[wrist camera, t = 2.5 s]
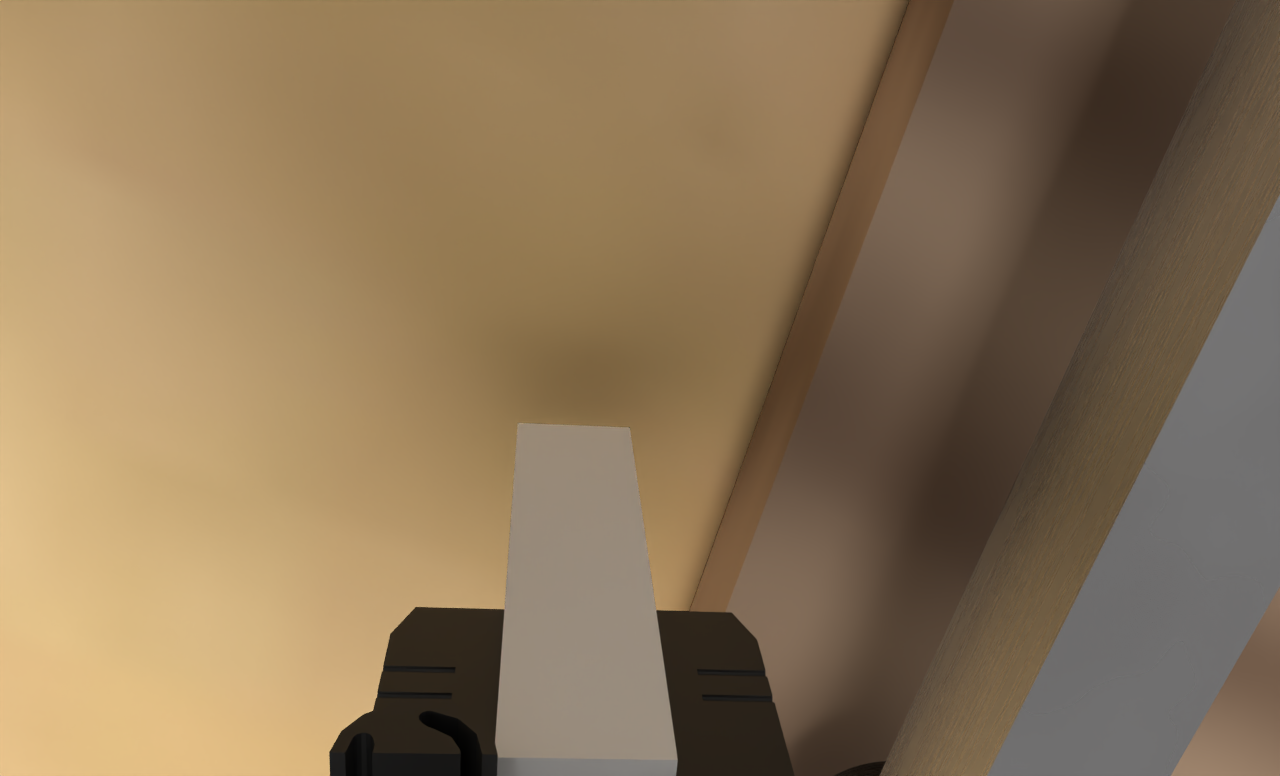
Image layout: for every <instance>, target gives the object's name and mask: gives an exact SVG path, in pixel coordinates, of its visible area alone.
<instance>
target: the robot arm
mask: <svg viewBox="0 0 1280 776" xmlns="http://www.w3.org/2000/svg"><path fill="white" fill-rule="evenodd" d="M772 698H773V695H772V692H771V688H770V684H769V681H768V677H766V670H765V666H764V663H763V659H762V655H761V652H760V648H759V645H758V641H757V639H756V638H755V637H754V636H753V635H752V634H751V633H750V631H749V630H748V629H747V628H746V627H745V626H744V625H743V624H742V623H741V622H740V621H739V620H738V619H737V618H736V617H735V615H734V614H733V613H732V612H698V611H660V610H656V606H655V599H654V592H653V585H652V578H651V571H650V564H649V557H648V550H647V543H646V536H645V529H644V522H643V516H642V509H641V502H640V495H639V488H638V481H637V474H636V467H635V460H634V453H633V446H632V439H631V432H630V427H606V426H582V425H558V424H534V423H518V427H517V441H516V455H515V469H514V483H513V497H512V511H511V525H510V539H509V553H508V567H507V581H506V595H505V609H466V608H428V607H415V609H414V610H413V611H412V612H411V613H410V614H409V615H408V616H407V617H406V618H405V619H404V620H403V621H402V622H401V623H400V624H399V626H398V627H397V628H396V629H395V630H394V631H393V632H392V633H391V634H390V639H389V643H388V648H387V652H386V657H385V661H384V665H383V672H382V674H381V679H380V683H379V688H378V695H377V698H376V701H375V705H374V710H373V711H372V712H369V713H366V714H364V715H362V716H361V717H360V718H358V719H357V720H356V721H354V722H353V723H352V724H350V725H349V726H348V727H346V728H345V729H344V730H343V731H341V733H340V735H339V736H338V738H337V740H336V742H335V743H334V745H333V747H332V749H331V751H330V752H329V753H330V776H795V775H794V771H793V768H792V764H791V760H790V757H789V753H788V750H787V746H786V742H785V739H784V735H783V731H782V728H781V724H780V721H779V717H778V713H777V710H776V706H775V702H773V699H772Z"/></svg>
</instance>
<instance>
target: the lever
mask: <svg viewBox="0 0 1280 776" xmlns="http://www.w3.org/2000/svg"><path fill="white" fill-rule="evenodd" d="M1279 587H1280V0H1236V2H1235V4H1234V6H1233V8H1232V10H1231V12H1230V15H1229V17H1228V19H1227V21H1226V23H1225V25H1224V28H1223V30H1222V32H1221V34H1220V36H1219V38H1218V41H1217V43H1216V45H1215V47H1214V49H1213V52H1212V54H1211V56H1210V58H1209V60H1208V62H1207V65H1206V67H1205V69H1204V71H1203V73H1202V75H1201V78H1200V80H1199V82H1198V84H1197V86H1196V88H1195V91H1194V93H1193V95H1192V97H1191V99H1190V101H1189V104H1188V106H1187V108H1186V110H1185V112H1184V115H1183V117H1182V119H1181V121H1180V123H1179V125H1178V128H1177V130H1176V132H1175V134H1174V136H1173V138H1172V141H1171V143H1170V145H1169V147H1168V149H1167V151H1166V154H1165V156H1164V158H1163V160H1162V162H1161V165H1160V167H1159V169H1158V171H1157V173H1156V175H1155V178H1154V180H1153V182H1152V184H1151V186H1150V188H1149V191H1148V193H1147V195H1146V197H1145V199H1144V201H1143V204H1142V206H1141V208H1140V210H1139V212H1138V214H1137V217H1136V219H1135V221H1134V223H1133V225H1132V228H1131V230H1130V232H1129V234H1128V236H1127V238H1126V241H1125V243H1124V245H1123V247H1122V249H1121V251H1120V254H1119V256H1118V258H1117V260H1116V262H1115V264H1114V267H1113V269H1112V271H1111V273H1110V275H1109V278H1108V280H1107V282H1106V284H1105V286H1104V288H1103V291H1102V293H1101V295H1100V297H1099V299H1098V301H1097V304H1096V306H1095V308H1094V310H1093V312H1092V314H1091V317H1090V319H1089V321H1088V323H1087V325H1086V327H1085V330H1084V332H1083V334H1082V336H1081V338H1080V341H1079V343H1078V345H1077V347H1076V349H1075V351H1074V354H1073V356H1072V358H1071V360H1070V362H1069V364H1068V367H1067V369H1066V371H1065V373H1064V375H1063V377H1062V380H1061V382H1060V384H1059V386H1058V388H1057V391H1056V393H1055V395H1054V397H1053V399H1052V401H1051V404H1050V406H1049V408H1048V410H1047V412H1046V414H1045V417H1044V419H1043V421H1042V423H1041V425H1040V427H1039V430H1038V432H1037V434H1036V436H1035V438H1034V440H1033V443H1032V445H1031V447H1030V449H1029V451H1028V454H1027V456H1026V458H1025V460H1024V462H1023V464H1022V467H1021V469H1020V471H1019V473H1018V475H1017V477H1016V480H1015V482H1014V484H1013V486H1012V488H1011V490H1010V493H1009V495H1008V497H1007V499H1006V501H1005V504H1004V506H1003V508H1002V510H1001V512H1000V514H999V517H998V519H997V521H996V523H995V525H994V527H993V530H992V532H991V534H990V536H989V538H988V540H987V543H986V545H985V547H984V549H983V551H982V553H981V556H980V558H979V560H978V562H977V564H976V567H975V569H974V571H973V573H972V575H971V577H970V580H969V582H968V584H967V586H966V588H965V590H964V593H963V595H962V597H961V599H960V601H959V603H958V606H957V608H956V610H955V612H954V614H953V617H952V619H951V621H950V623H949V625H948V627H947V630H946V632H945V634H944V636H943V638H942V640H941V643H940V645H939V647H938V649H937V651H936V653H935V656H934V658H933V660H932V662H931V664H930V666H929V669H928V671H927V673H926V675H925V677H924V680H923V682H922V684H921V686H920V688H919V690H918V693H917V695H916V697H915V699H914V701H913V703H912V706H911V708H910V710H909V712H908V714H907V716H906V719H905V721H904V723H903V725H902V727H901V730H900V732H899V734H898V736H897V738H896V740H895V743H894V745H893V747H892V749H891V751H890V753H889V756H888V758H887V760H886V761H881V762H873V763H867V764H863V765H859V766H856V767H852V768H850V769H847V770H845V771H842V772H840V773H838V774H836V775H834V776H1171V774H1172V773H1173V771H1174V769H1175V767H1176V766H1177V764H1178V762H1179V761H1180V759H1181V757H1182V755H1183V754H1184V752H1185V750H1186V748H1187V747H1188V745H1189V743H1190V741H1191V740H1192V738H1193V736H1194V735H1195V733H1196V731H1197V729H1198V728H1199V726H1200V724H1201V722H1202V721H1203V719H1204V717H1205V715H1206V714H1207V712H1208V710H1209V709H1210V707H1211V705H1212V703H1213V702H1214V700H1215V698H1216V696H1217V695H1218V693H1219V691H1220V689H1221V688H1222V686H1223V684H1224V682H1225V681H1226V679H1227V677H1228V676H1229V674H1230V672H1231V670H1232V669H1233V667H1234V665H1235V663H1236V662H1237V660H1238V658H1239V656H1240V655H1241V653H1242V651H1243V650H1244V648H1245V646H1246V644H1247V643H1248V641H1249V639H1250V637H1251V636H1252V634H1253V632H1254V630H1255V629H1256V627H1257V625H1258V624H1259V622H1260V620H1261V618H1262V617H1263V615H1264V613H1265V611H1266V610H1267V608H1268V606H1269V604H1270V603H1271V601H1272V599H1273V597H1274V596H1275V594H1276V592H1277V591H1278V589H1279Z"/></svg>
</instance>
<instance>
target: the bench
mask: <svg viewBox="0 0 1280 776" xmlns="http://www.w3.org/2000/svg"><path fill="white" fill-rule="evenodd" d="M1235 2H1236V0H910V1H909V4H908V7H907V9H906V12H905V15H904V18H903V21H902V23H901V26H900V29H899V32H898V34H897V37H896V40H895V43H894V46H893V48H892V51H891V54H890V57H889V59H888V62H887V65H886V68H885V70H884V73H883V76H882V79H881V82H880V84H879V87H878V90H877V93H876V95H875V98H874V101H873V104H872V107H871V109H870V112H869V115H868V118H867V120H866V123H865V126H864V129H863V131H862V134H861V137H860V140H859V143H858V145H857V148H856V151H855V154H854V156H853V159H852V162H851V165H850V167H849V170H848V173H847V176H846V179H845V181H844V184H843V187H842V190H841V192H840V195H839V198H838V201H837V204H836V206H835V209H834V212H833V215H832V217H831V220H830V223H829V226H828V228H827V231H826V234H825V237H824V240H823V242H822V245H821V248H820V251H819V253H818V256H817V259H816V262H815V264H814V267H813V270H812V273H811V276H810V278H809V281H808V284H807V287H806V289H805V292H804V295H803V298H802V301H801V303H800V306H799V309H798V312H797V314H796V317H795V320H794V323H793V325H792V328H791V331H790V334H789V337H788V339H787V342H786V345H785V348H784V350H783V353H782V356H781V359H780V362H779V364H778V367H777V370H776V373H775V375H774V378H773V381H772V384H771V386H770V389H769V392H768V395H767V398H766V400H765V403H764V406H763V409H762V411H761V414H760V417H759V420H758V422H757V425H756V428H755V431H754V434H753V436H752V439H751V442H750V445H749V447H748V450H747V453H746V456H745V459H744V461H743V464H742V467H741V470H740V472H739V475H738V478H737V481H736V483H735V486H734V489H733V492H732V495H731V497H730V500H729V503H728V506H727V508H726V511H725V514H724V517H723V520H722V522H721V525H720V528H719V531H718V533H717V536H716V539H715V542H714V544H713V547H712V550H711V553H710V556H709V558H708V561H707V564H706V567H705V569H704V572H703V575H702V578H701V580H700V583H699V586H698V589H697V592H696V594H695V597H694V600H693V603H692V605H691V608H690V611H698V612H732V613H733V614H734V615H735V617H736V618H737V619H738V620H739V621H740V622H741V623H742V624H743V625H744V626H745V627H746V628H747V629H748V630H749V631H750V633H751V634H752V635H753V636H754V637H755V638H756V639H757V641H758V645H759V648H760V652H761V655H762V659H763V663H764V666H765V670H766V677H768V681H769V684H770V688H771V692H772V695H773V698H772V699H773V702H775V706H776V710H777V713H778V717H779V721H780V724H781V728H782V731H783V735H784V739H785V742H786V746H787V750H788V753H789V757H790V760H791V764H792V768H793V771H794V775H795V776H834V775H836V774H838V773H840V772H842V771H845V770H847V769H850V768H852V767H856V766H859V765H863V764H867V763H873V762H881V761H886V760H887V758H888V756H889V753H890V751H891V749H892V747H893V745H894V743H895V740H896V738H897V736H898V734H899V732H900V730H901V727H902V725H903V723H904V721H905V719H906V716H907V714H908V712H909V710H910V708H911V706H912V703H913V701H914V699H915V697H916V695H917V693H918V690H919V688H920V686H921V684H922V682H923V680H924V677H925V675H926V673H927V671H928V669H929V666H930V664H931V662H932V660H933V658H934V656H935V653H936V651H937V649H938V647H939V645H940V643H941V640H942V638H943V636H944V634H945V632H946V630H947V627H948V625H949V623H950V621H951V619H952V617H953V614H954V612H955V610H956V608H957V606H958V603H959V601H960V599H961V597H962V595H963V593H964V590H965V588H966V586H967V584H968V582H969V580H970V577H971V575H972V573H973V571H974V569H975V567H976V564H977V562H978V560H979V558H980V556H981V553H982V551H983V549H984V547H985V545H986V543H987V540H988V538H989V536H990V534H991V532H992V530H993V527H994V525H995V523H996V521H997V519H998V517H999V514H1000V512H1001V510H1002V508H1003V506H1004V504H1005V501H1006V499H1007V497H1008V495H1009V493H1010V490H1011V488H1012V486H1013V484H1014V482H1015V480H1016V477H1017V475H1018V473H1019V471H1020V469H1021V467H1022V464H1023V462H1024V460H1025V458H1026V456H1027V454H1028V451H1029V449H1030V447H1031V445H1032V443H1033V440H1034V438H1035V436H1036V434H1037V432H1038V430H1039V427H1040V425H1041V423H1042V421H1043V419H1044V417H1045V414H1046V412H1047V410H1048V408H1049V406H1050V404H1051V401H1052V399H1053V397H1054V395H1055V393H1056V391H1057V388H1058V386H1059V384H1060V382H1061V380H1062V377H1063V375H1064V373H1065V371H1066V369H1067V367H1068V364H1069V362H1070V360H1071V358H1072V356H1073V354H1074V351H1075V349H1076V347H1077V345H1078V343H1079V341H1080V338H1081V336H1082V334H1083V332H1084V330H1085V327H1086V325H1087V323H1088V321H1089V319H1090V317H1091V314H1092V312H1093V310H1094V308H1095V306H1096V304H1097V301H1098V299H1099V297H1100V295H1101V293H1102V291H1103V288H1104V286H1105V284H1106V282H1107V280H1108V278H1109V275H1110V273H1111V271H1112V269H1113V267H1114V264H1115V262H1116V260H1117V258H1118V256H1119V254H1120V251H1121V249H1122V247H1123V245H1124V243H1125V241H1126V238H1127V236H1128V234H1129V232H1130V230H1131V228H1132V225H1133V223H1134V221H1135V219H1136V217H1137V214H1138V212H1139V210H1140V208H1141V206H1142V204H1143V201H1144V199H1145V197H1146V195H1147V193H1148V191H1149V188H1150V186H1151V184H1152V182H1153V180H1154V178H1155V175H1156V173H1157V171H1158V169H1159V167H1160V165H1161V162H1162V160H1163V158H1164V156H1165V154H1166V151H1167V149H1168V147H1169V145H1170V143H1171V141H1172V138H1173V136H1174V134H1175V132H1176V130H1177V128H1178V125H1179V123H1180V121H1181V119H1182V117H1183V115H1184V112H1185V110H1186V108H1187V106H1188V104H1189V101H1190V99H1191V97H1192V95H1193V93H1194V91H1195V88H1196V86H1197V84H1198V82H1199V80H1200V78H1201V75H1202V73H1203V71H1204V69H1205V67H1206V65H1207V62H1208V60H1209V58H1210V56H1211V54H1212V52H1213V49H1214V47H1215V45H1216V43H1217V41H1218V38H1219V36H1220V34H1221V32H1222V30H1223V28H1224V25H1225V23H1226V21H1227V19H1228V17H1229V15H1230V12H1231V10H1232V8H1233V6H1234V4H1235ZM1171 776H1280V587H1279V589H1278V591H1277V592H1276V594H1275V596H1274V597H1273V599H1272V601H1271V603H1270V604H1269V606H1268V608H1267V610H1266V611H1265V613H1264V615H1263V617H1262V618H1261V620H1260V622H1259V624H1258V625H1257V627H1256V629H1255V630H1254V632H1253V634H1252V636H1251V637H1250V639H1249V641H1248V643H1247V644H1246V646H1245V648H1244V650H1243V651H1242V653H1241V655H1240V656H1239V658H1238V660H1237V662H1236V663H1235V665H1234V667H1233V669H1232V670H1231V672H1230V674H1229V676H1228V677H1227V679H1226V681H1225V682H1224V684H1223V686H1222V688H1221V689H1220V691H1219V693H1218V695H1217V696H1216V698H1215V700H1214V702H1213V703H1212V705H1211V707H1210V709H1209V710H1208V712H1207V714H1206V715H1205V717H1204V719H1203V721H1202V722H1201V724H1200V726H1199V728H1198V729H1197V731H1196V733H1195V735H1194V736H1193V738H1192V740H1191V741H1190V743H1189V745H1188V747H1187V748H1186V750H1185V752H1184V754H1183V755H1182V757H1181V759H1180V761H1179V762H1178V764H1177V766H1176V767H1175V769H1174V771H1173V773H1172V774H1171Z"/></svg>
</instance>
